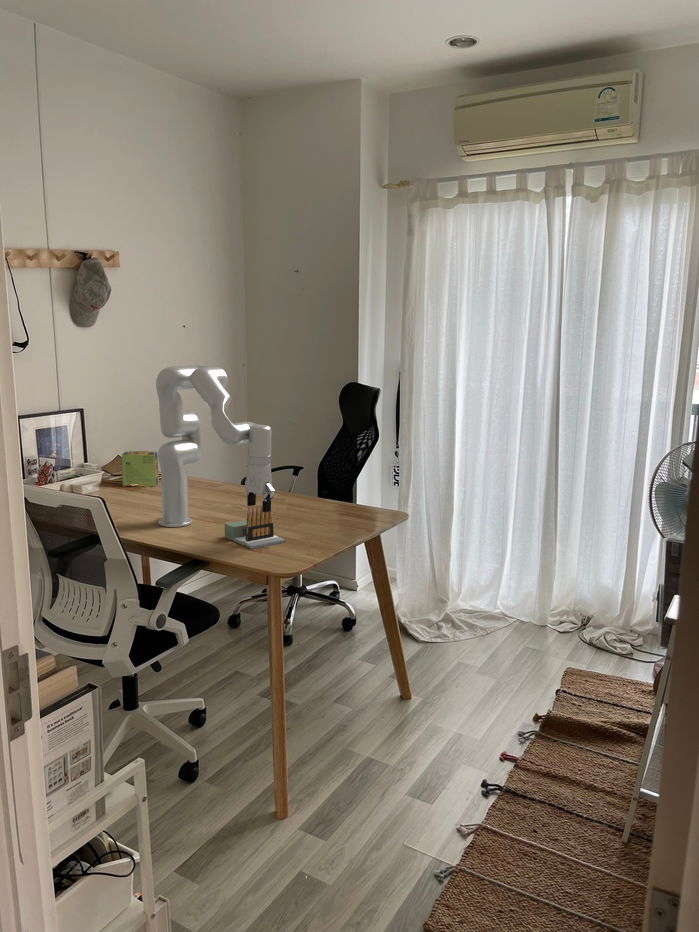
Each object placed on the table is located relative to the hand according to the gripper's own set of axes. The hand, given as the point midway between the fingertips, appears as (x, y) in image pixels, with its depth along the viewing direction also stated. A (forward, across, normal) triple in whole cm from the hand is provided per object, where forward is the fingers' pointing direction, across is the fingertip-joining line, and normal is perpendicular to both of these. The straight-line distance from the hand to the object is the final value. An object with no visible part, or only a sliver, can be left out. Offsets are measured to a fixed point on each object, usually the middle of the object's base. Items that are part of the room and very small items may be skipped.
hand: (258, 508), depth 258 cm
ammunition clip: (+11, 0, 0) cm, 11 cm away
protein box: (+15, -111, +5) cm, 112 cm away
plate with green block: (+12, -3, 0) cm, 12 cm away
